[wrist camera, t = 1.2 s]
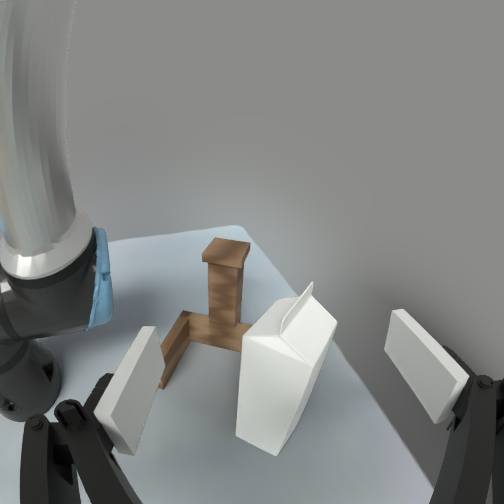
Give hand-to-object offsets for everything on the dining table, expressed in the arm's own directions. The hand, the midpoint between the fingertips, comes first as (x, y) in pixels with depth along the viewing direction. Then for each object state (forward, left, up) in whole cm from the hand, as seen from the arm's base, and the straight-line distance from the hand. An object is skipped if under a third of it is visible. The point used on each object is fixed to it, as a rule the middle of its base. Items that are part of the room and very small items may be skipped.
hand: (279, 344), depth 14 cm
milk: (0, +6, -23) cm, 24 cm away
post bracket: (-12, +15, -23) cm, 30 cm away
